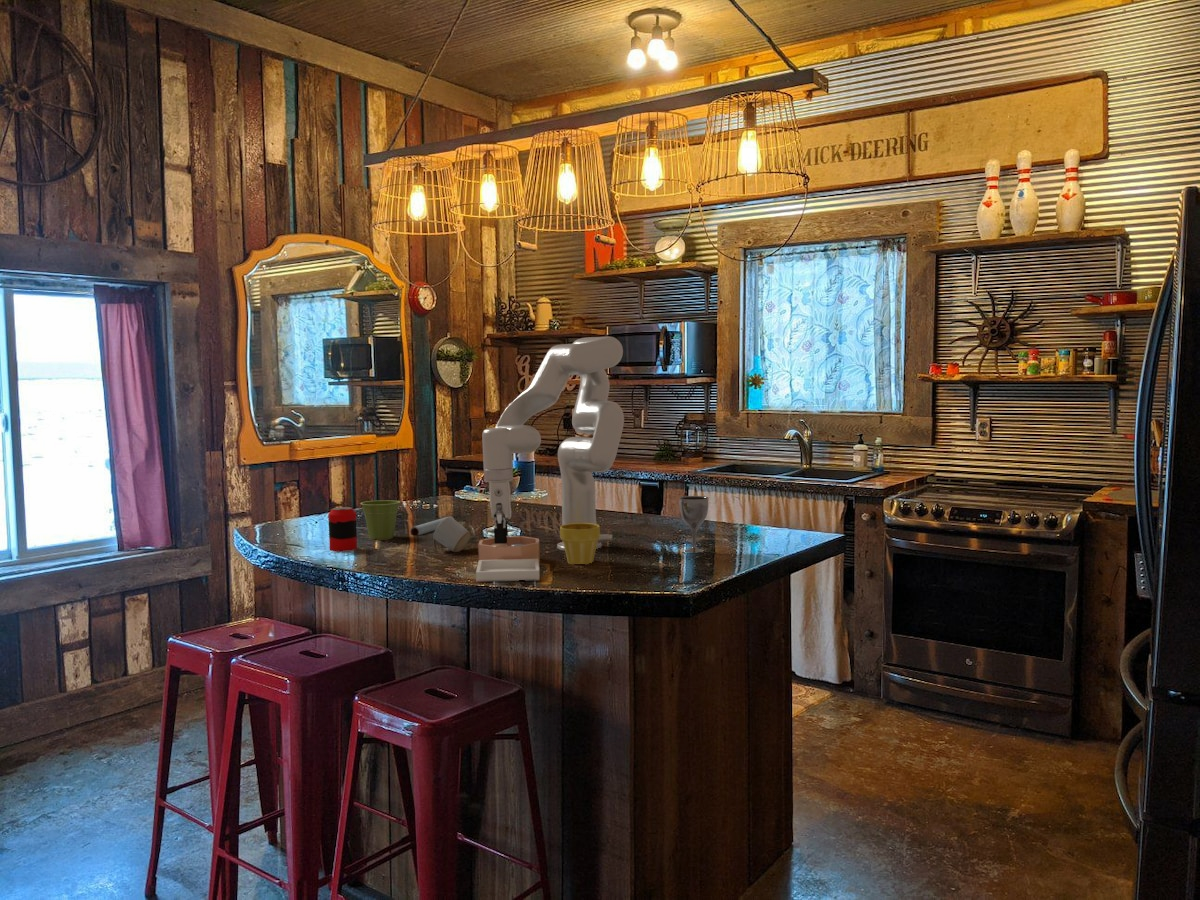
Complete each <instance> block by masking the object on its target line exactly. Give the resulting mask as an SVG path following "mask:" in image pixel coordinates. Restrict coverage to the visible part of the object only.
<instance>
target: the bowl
mask: <svg viewBox="0 0 1200 900" xmlns="http://www.w3.org/2000/svg"><path fill="white" fill-rule="evenodd" d="M515 543H526V544H527V545H522V546H511V544H515ZM492 544H495V541H494V537H490V538H485V539H480V540H479V541H478V544H477V545H478V546H477V547H478V561H479V560H502V559H538V560H539V564H540V562H541V560H540V558H541V557H540V539H539V538H536V537H531V536H530V537H529V536H524V535H519V536H517V535H515V536H513V535H512V536H507V543H503V544H507V545H508V546H491V545H492Z"/></svg>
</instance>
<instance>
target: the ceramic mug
mask: <svg viewBox="0 0 1200 900" xmlns="http://www.w3.org/2000/svg"><path fill="white" fill-rule="evenodd" d="M450 516H451V515H450ZM450 516H446V517H447V518H445V517H444V518H445V519H444V520H443V521H442V522H441V523H440V524H439V525H438V527H437V528H436V530H434V531H433V534H432V538H433V540H435V541H437V542H438V543H439V544H441V545H442V546H444V547H445V548H446V549H448V550H449V551H451V552H453V553H459V552H461V551H462V550H463V549H464V548H465V546H466V545H467V544H468V543H469V541H470V539H471V532H470V531H468V529H466V527H464V526H463V525H461V524H460V523H459V522H458V521H457V520H455V518H454V517H453V516H451V517H450ZM452 517H453V518H454V519H453V518H452Z"/></svg>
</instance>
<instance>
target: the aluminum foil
mask: <svg viewBox="0 0 1200 900" xmlns="http://www.w3.org/2000/svg"><path fill="white" fill-rule="evenodd" d="M447 517H448V516H446V517H442V518H439V519H436V520H432V521H428V522H425V523H422V524H419V525H415V526H412V527H411V528H410V530H409V534H410V535H411V536H414V535H416V536H421V535H424V534H427V533H431V532H435V530H436V528H437V527H438V525H439V524H440V523H441V522H442V521H443V520H444V519H445V518H447ZM450 517H452V518H453V519H454V520H455V518H454V517H453V516H452V515H450Z"/></svg>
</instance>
